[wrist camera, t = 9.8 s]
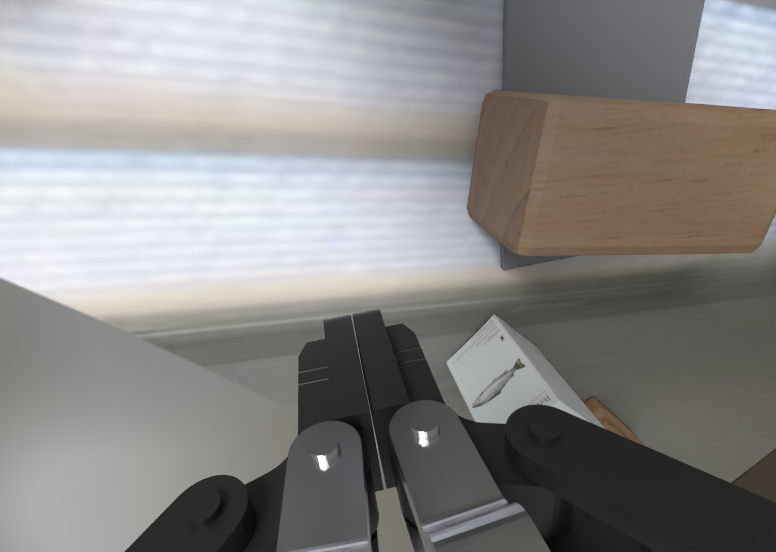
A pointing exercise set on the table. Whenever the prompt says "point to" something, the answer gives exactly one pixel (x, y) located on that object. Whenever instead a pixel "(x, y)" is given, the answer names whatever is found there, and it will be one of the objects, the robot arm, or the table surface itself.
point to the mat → (598, 55)
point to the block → (622, 175)
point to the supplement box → (509, 376)
